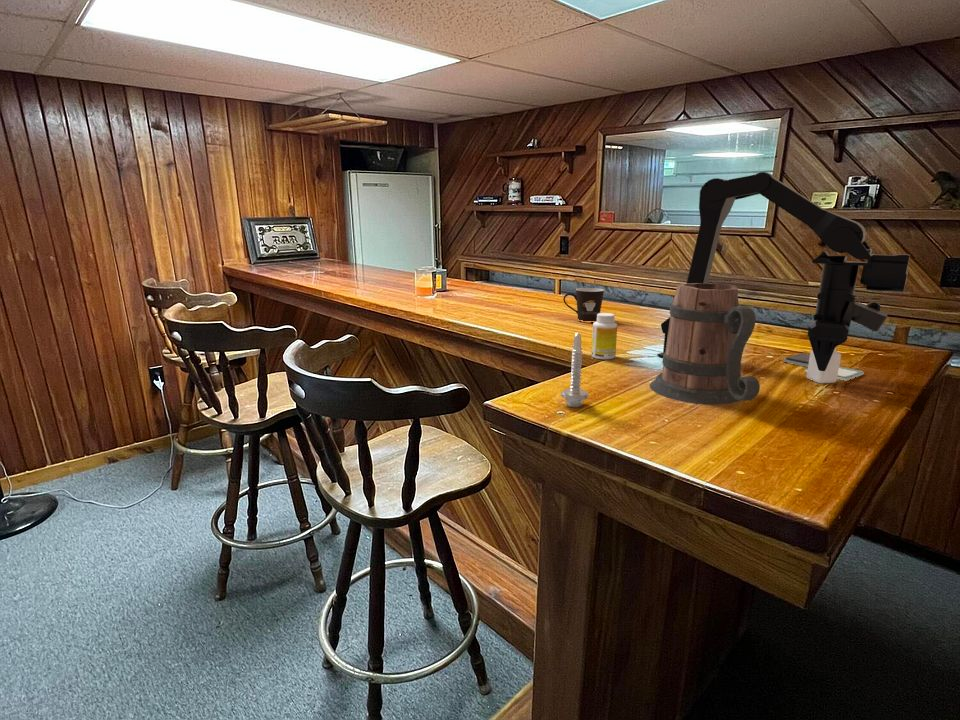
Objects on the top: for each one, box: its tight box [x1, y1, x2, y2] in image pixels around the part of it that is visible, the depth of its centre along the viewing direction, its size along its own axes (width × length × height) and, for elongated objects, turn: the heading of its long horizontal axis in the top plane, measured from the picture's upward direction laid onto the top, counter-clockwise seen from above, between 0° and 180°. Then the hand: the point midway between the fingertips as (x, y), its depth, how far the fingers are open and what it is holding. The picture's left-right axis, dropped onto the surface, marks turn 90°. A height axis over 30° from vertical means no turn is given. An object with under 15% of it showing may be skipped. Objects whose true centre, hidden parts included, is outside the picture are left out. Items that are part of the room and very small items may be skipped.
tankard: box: [649, 282, 761, 406], centre depth 96 cm, size 24×17×20 cm
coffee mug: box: [563, 287, 605, 321], centre depth 168 cm, size 12×9×10 cm
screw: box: [560, 332, 590, 408], centre depth 92 cm, size 13×5×5 cm
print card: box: [804, 366, 865, 382], centre depth 112 cm, size 8×8×1 cm
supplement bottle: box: [591, 312, 618, 361], centre depth 124 cm, size 6×6×10 cm
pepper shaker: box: [806, 347, 842, 384], centre depth 106 cm, size 4×4×10 cm
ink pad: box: [782, 352, 810, 368], centre depth 120 cm, size 8×7×1 cm
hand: (823, 366), depth 106 cm, fingers open, 8 cm apart
